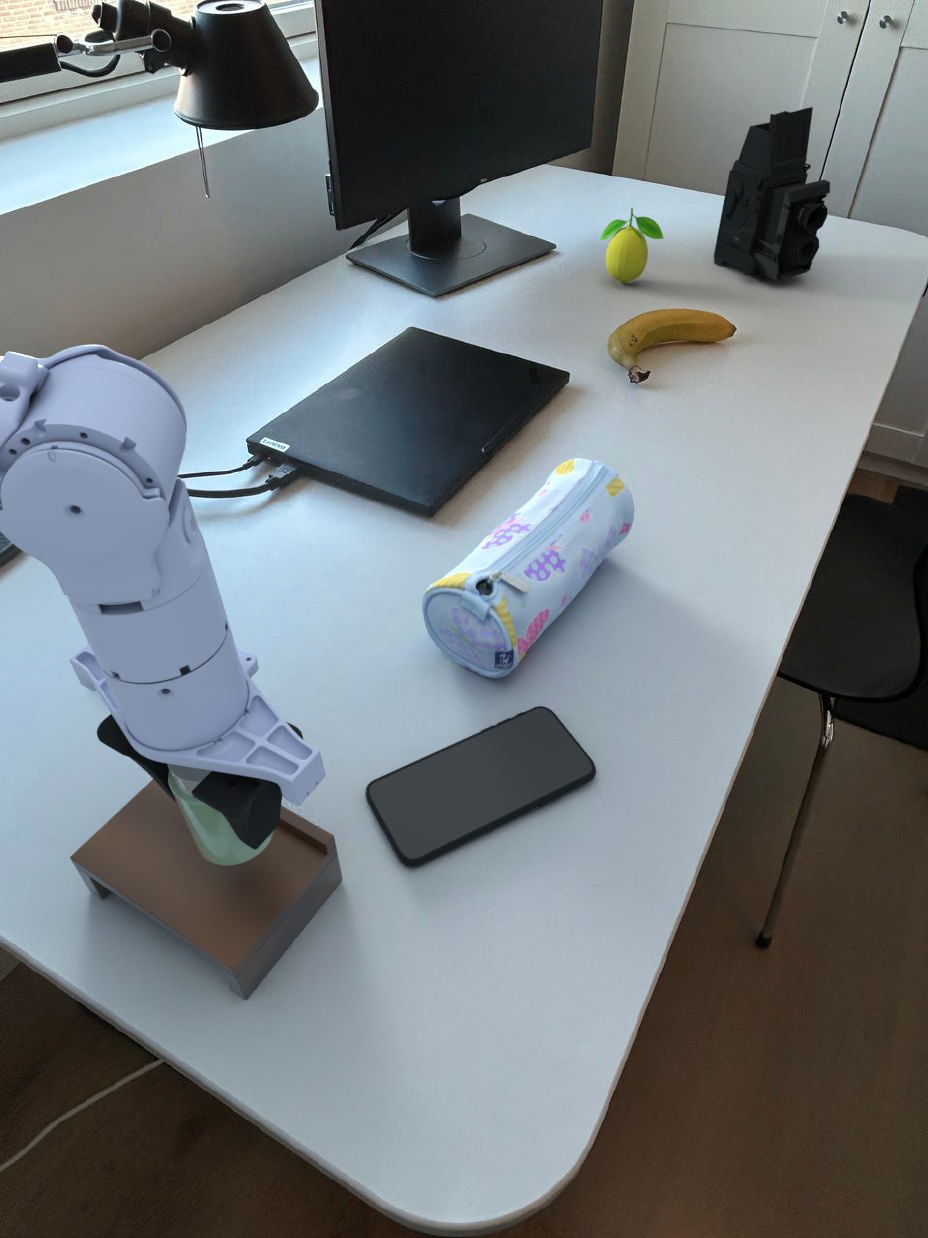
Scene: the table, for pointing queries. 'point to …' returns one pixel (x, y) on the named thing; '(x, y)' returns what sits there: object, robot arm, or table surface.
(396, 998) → the table surface
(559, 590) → the pencil case
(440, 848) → the smartphone
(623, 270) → the lemon
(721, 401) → the table surface
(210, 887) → the shelf
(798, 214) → the camera
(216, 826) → the shaker
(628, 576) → the table surface
